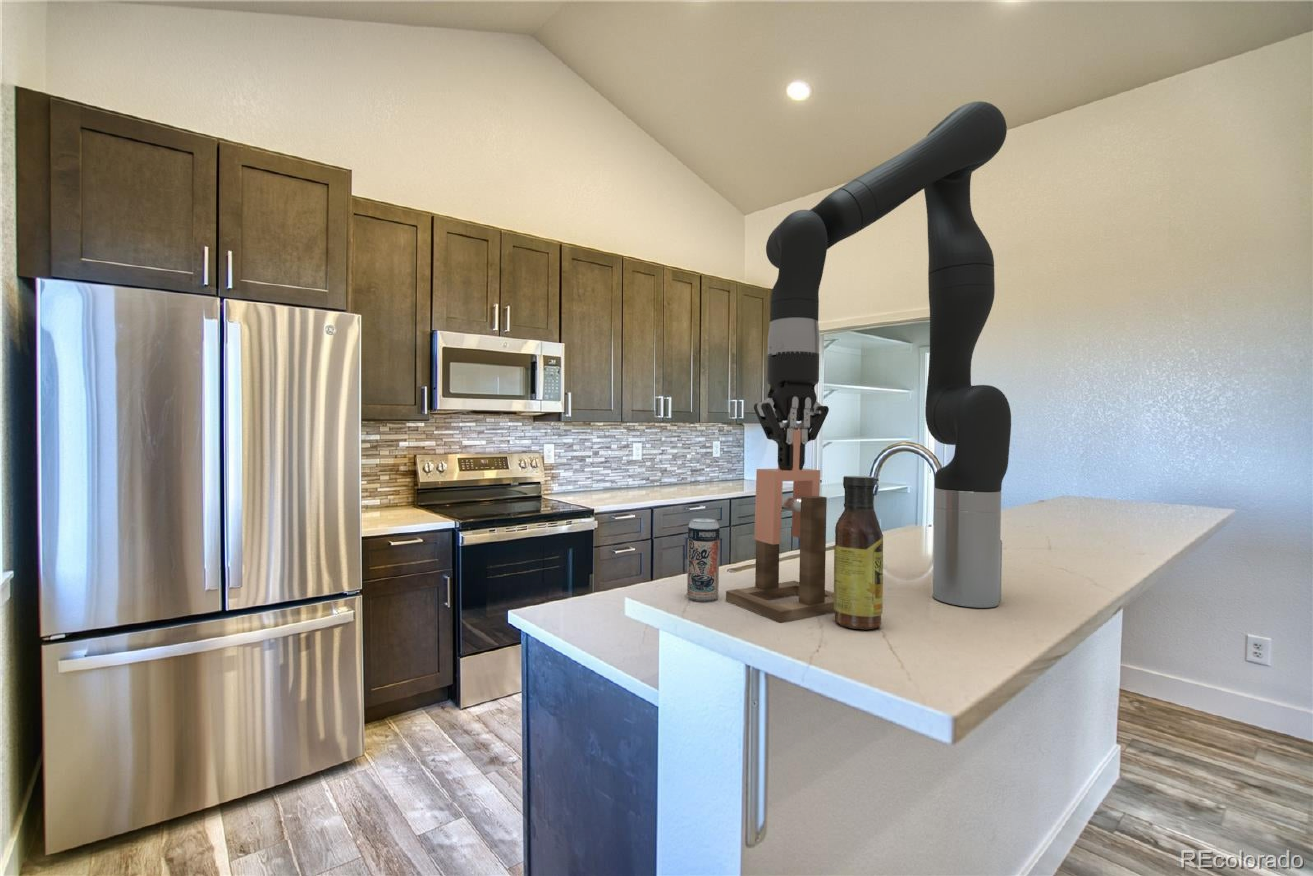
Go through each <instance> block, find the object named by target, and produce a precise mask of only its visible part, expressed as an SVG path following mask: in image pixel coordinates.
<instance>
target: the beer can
mask: <svg viewBox="0 0 1313 876" xmlns="http://www.w3.org/2000/svg"><path fill="white" fill-rule="evenodd" d="M689 521H690V522H689V524H688V527H687V575H686V578H687V579H686V581H687V583H686V584H687V585H686V595H687V597H689V598H690V599H691V600H692V601H696V602H711V601H714V600H715V599H716V598H718V597H719V582H720V581H719V579H720V577H719V576H720V571H719V570H720V525H719V522H718V520H717V519H715V518H708V517H706V518H703V517H700V518H698V517H697V518H692V519H690V520H689Z"/></svg>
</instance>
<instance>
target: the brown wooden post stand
mask: <svg viewBox="0 0 1313 876" xmlns="http://www.w3.org/2000/svg"><path fill="white" fill-rule="evenodd" d="M827 502H828V501H827V496H821V495H819V496H803V497H801V499H800V498H793V496H786V495H782V511H783V510H784V511H791V512H792V511H795V512H801V519H800V538H799V573H798V574H799V580H789V581H783V582H780V544H774V545H772V544H769V543H765V542H761V541H758V540H755V572H754V573H755V579H754V580H755V582H754V586H750V587H748V586H747V587H743V588H735V589H729V590H725V602H728V603H730V604H733V605H735V604H736V605H735V606H738V607H740V608H742V609H746V610H747V609H748V611H751V612H753V613H755V614H757V615H760V616H763V617H765V618H767V619H769V620H773V621H775V622H778V623H779V624H781V623H787V622H791V621H798V620H802V619H806V618H807V619H808V618H813V617H817V616H823V615H828V614H835V610H834V591H833V592H832V591H829V590H826V559H827V558H826V552H827V551H826V549H827V547H826V545H827V506H828V505H827ZM792 596H798V601H794V602H789V603H783V604H777V603H775V602H772V601H769V600H774V599H779V598H787V597H792Z"/></svg>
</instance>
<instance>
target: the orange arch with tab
mask: <svg viewBox="0 0 1313 876" xmlns="http://www.w3.org/2000/svg"><path fill="white" fill-rule="evenodd" d="M784 434H785V429H784ZM800 443H801V430H799V429H798V430H793V442H792V444H791V445H794V446H793V469H792V470H781V469H780V468H779V465H778V464H777V468H757V469H756V474H755V475H756V479H755V506H754V511H755V512H754V535H753V537H754V540H755V541H756V540H758V541H761V542H765V543H769V544H772V545H774V544H779V545H781V538H782V516H783V515H782V512H783V509H782V496H783V482H793V483H792V484H793V485H792V488H793V489H792V497H793V498H800V499H801V497H803V496H820V490H821V489H820V487H821V486H820V485H821V484H820V482H821V469H814V468H813V469H811V468H804V467H803V469H802V470H800V469H799V459H800ZM791 513H792V515H791V517H792V519H791V537H795V538H798V539H800V519H801V512H795V511H791Z"/></svg>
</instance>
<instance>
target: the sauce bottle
mask: <svg viewBox="0 0 1313 876" xmlns="http://www.w3.org/2000/svg"><path fill="white" fill-rule="evenodd" d="M875 480H876V479H875V476H868V475H844V476H843V479H842V481H843V484H842V485H843V489H844V503H843V507H844V511H842V514H841V515H840V517H838V519H837V521H836V523H835V528H834V532H835V534H834V535H835V536H834V537H835V539H834V540H835V541H834V542H835V543H834V548H833V555H834V556H833V558H834V559H833V593H834V610H835V612H834V615H833V616H834V617H833V618H834V621H835V622H836V623H837V624H838V625H840V626H843V627H845V628H849V629H854V630H867V631H868V630H873V629H877V628H879V627H880V626H881V624H882V615H883V608H884V607H883V602H884V601H883V600H884V599H883V597H884V596H883V594H884V591H883V590H884V589H883V587H884V585H883V584H884V535H883V532H882V529H881V526H880V522H879V519H878V517H877V514H876V512H875V508H874V507H875V505H874V489H875V487H876V484H875V483H876V481H875Z"/></svg>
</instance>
